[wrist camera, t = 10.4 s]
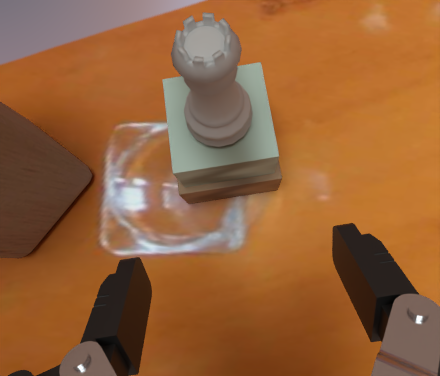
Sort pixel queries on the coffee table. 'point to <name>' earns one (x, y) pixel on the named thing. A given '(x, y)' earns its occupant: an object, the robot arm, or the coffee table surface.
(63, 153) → the block
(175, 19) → the coffee table surface
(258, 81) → the tower base
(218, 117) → the rook chess piece
